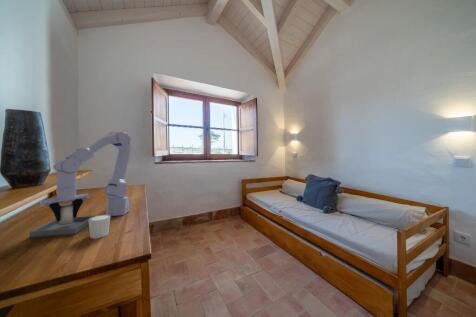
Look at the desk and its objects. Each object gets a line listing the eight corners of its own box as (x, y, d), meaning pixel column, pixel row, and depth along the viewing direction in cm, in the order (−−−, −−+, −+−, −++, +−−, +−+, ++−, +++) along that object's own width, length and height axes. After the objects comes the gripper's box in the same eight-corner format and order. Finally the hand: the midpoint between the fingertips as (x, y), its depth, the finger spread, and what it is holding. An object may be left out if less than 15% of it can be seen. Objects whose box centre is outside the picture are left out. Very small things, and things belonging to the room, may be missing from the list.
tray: (95, 220, 79) (95, 215, 79) (75, 234, 66) (75, 228, 66) (58, 223, 76) (58, 217, 76) (29, 238, 62) (29, 231, 62)
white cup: (85, 240, 62) (85, 222, 62) (91, 232, 68) (91, 215, 68) (108, 237, 65) (108, 219, 65) (111, 229, 71) (112, 213, 71)
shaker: (76, 221, 74) (76, 203, 74) (68, 225, 69) (68, 206, 69) (64, 222, 73) (64, 203, 73) (55, 226, 68) (54, 206, 68)
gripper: (84, 183, 79) (84, 211, 79) (37, 188, 66) (37, 222, 66) (91, 185, 75) (91, 215, 76) (42, 191, 63) (42, 226, 63)
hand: (66, 218), depth 71 cm, fingers closed on shaker, 4 cm apart
